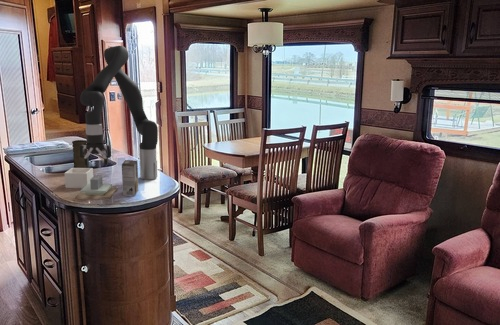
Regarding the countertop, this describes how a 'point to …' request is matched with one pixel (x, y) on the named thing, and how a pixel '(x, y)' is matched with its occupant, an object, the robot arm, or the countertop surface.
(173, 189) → the countertop surface
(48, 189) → the countertop surface
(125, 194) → the coffee box
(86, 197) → the board
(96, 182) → the lid
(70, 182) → the bin
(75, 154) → the container
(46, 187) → the countertop surface
